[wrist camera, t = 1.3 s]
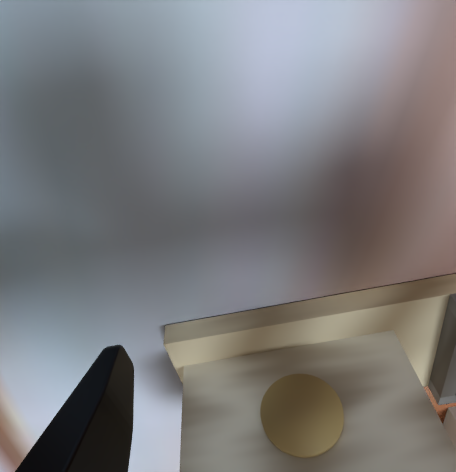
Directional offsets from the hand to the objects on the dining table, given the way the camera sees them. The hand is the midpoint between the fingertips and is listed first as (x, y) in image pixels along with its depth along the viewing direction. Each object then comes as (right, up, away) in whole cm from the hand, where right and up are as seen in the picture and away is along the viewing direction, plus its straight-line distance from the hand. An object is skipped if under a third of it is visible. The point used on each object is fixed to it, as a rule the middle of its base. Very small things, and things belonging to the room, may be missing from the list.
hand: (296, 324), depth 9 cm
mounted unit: (+7, -3, +12) cm, 14 cm away
